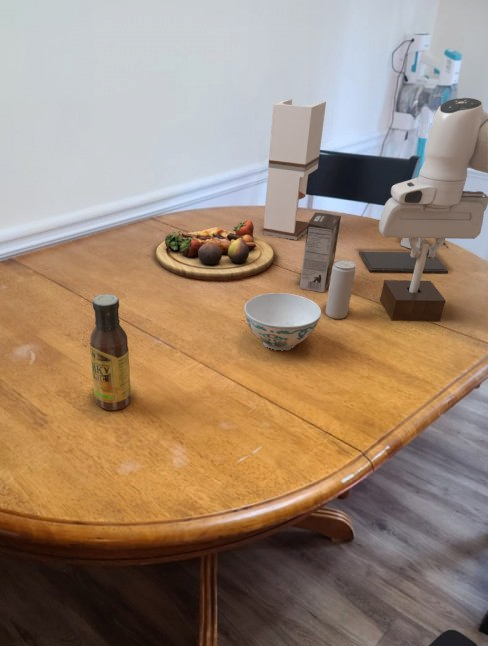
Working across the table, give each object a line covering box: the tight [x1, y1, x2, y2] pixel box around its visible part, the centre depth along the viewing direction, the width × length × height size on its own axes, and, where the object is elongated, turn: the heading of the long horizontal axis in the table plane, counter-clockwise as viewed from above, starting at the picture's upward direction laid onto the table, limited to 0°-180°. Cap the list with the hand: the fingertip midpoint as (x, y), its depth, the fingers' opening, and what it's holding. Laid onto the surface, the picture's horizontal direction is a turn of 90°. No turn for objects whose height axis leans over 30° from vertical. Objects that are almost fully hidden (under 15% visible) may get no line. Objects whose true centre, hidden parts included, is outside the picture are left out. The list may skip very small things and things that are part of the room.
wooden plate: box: [155, 219, 275, 281], centre depth 151 cm, size 32×32×8 cm
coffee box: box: [299, 212, 342, 293], centre depth 135 cm, size 9×6×16 cm
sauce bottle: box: [89, 293, 132, 411], centre depth 93 cm, size 6×6×20 cm
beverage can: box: [325, 259, 357, 320], centre depth 123 cm, size 5×5×12 cm
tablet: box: [358, 251, 449, 275], centre depth 150 cm, size 20×13×1 cm, turn 88°
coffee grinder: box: [262, 98, 327, 241], centre depth 161 cm, size 11×11×35 cm
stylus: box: [409, 240, 431, 293], centre depth 123 cm, size 2×2×14 cm
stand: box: [379, 279, 447, 323], centre depth 127 cm, size 11×11×5 cm
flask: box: [400, 238, 426, 249], centre depth 159 cm, size 7×7×10 cm
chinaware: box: [244, 292, 322, 352], centre depth 114 cm, size 15×15×8 cm
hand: (421, 257), depth 121 cm, fingers closed on stylus, 2 cm apart
